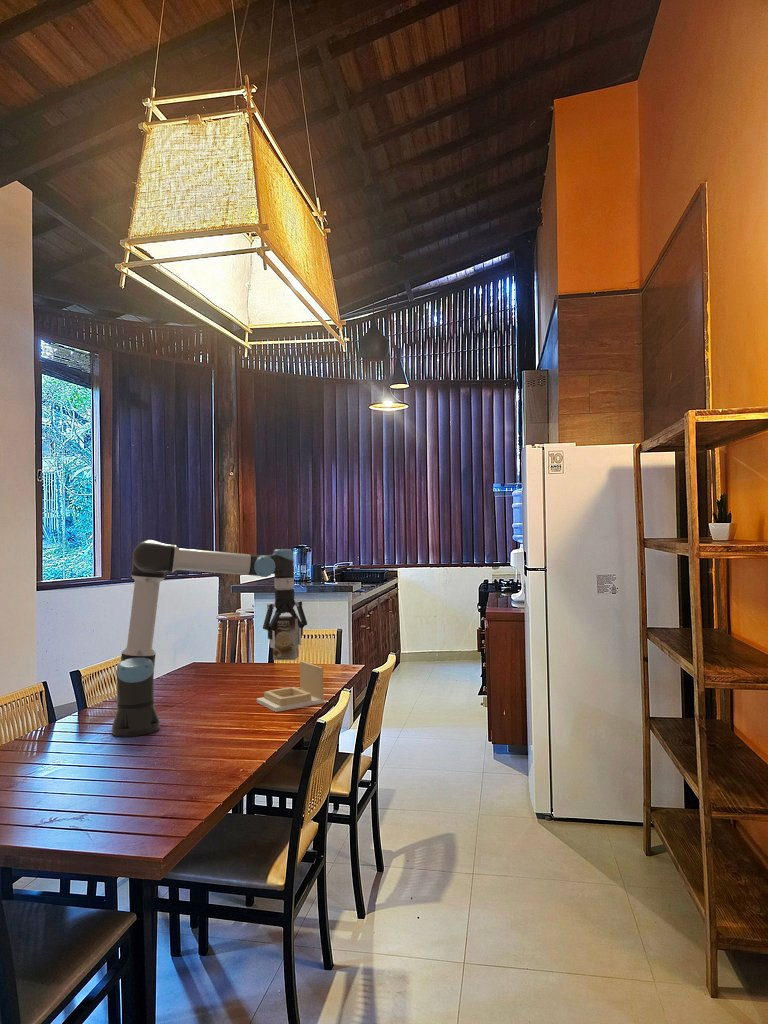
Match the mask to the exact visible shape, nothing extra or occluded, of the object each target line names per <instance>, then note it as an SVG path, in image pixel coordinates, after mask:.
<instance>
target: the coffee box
mask: <svg viewBox="0 0 768 1024" xmlns="http://www.w3.org/2000/svg"><path fill="white" fill-rule="evenodd" d="M298 618H299V616H298V617H293V616H291V615H290V616H289V615H288V616H283V615H282V616H281V615H280V616H279V618H278V620H277V622H276V624H275V626H274V628H273V631H275V648H272V661H296V660H297V659H299V657H300V654H299V652H300V651H299V650H300V649H299V646H300V645H299V640H298Z"/></svg>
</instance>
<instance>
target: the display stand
mask: <svg viewBox="0 0 768 1024" xmlns="http://www.w3.org/2000/svg"><path fill="white" fill-rule="evenodd" d="M299 684H300V685H299V688H298V687H296V686H290V687H289V686H288V687H283V688H278V689H271V690H266V691H264V692H263V697H257V698H256V703H257V704H259V705H261V706H263V707H265V708H267V709H268V710H271V711H272V712H274V711H275V712H276V713H277V712H284V711H288V710H293V709H300V708H304V707H310V706H311V707H312V706H315V705H320V704H325V703H324V702H325V698H324V696H325V695H324V692H325V691H324V667H322V666H319V665H316V664H313V663H310V662H307V661H305V660H304V661H303V660H300V661H299Z"/></svg>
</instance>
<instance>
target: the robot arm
mask: <svg viewBox="0 0 768 1024" xmlns="http://www.w3.org/2000/svg"><path fill="white" fill-rule="evenodd" d="M294 561H295V560H294V552H293V549H290V548H284V549H283V548H281V549H274V550H273V553H272V554H247V553H236V552H225V551H214V550H202V549H191V548H190V549H189V548H181V547H180V548H179V547H178V546H177V545H176V544H169V543H163V542H160V541H158V540H156V539H155V540H154V539H147V540H143V541H140V542H139V544H137V545H136V547H135V548H134V550H133V552H132V564H131V574H130V576H131V578H132V579H133V580H134V585H133V591H132V592H133V593H132V594H133V595H132V602H131V610H130V619H129V627H128V635H127V644H126V647H125V649H124V650H122V651H121V654H120V662H119V663H118V664H117V665H116V666H117V667H116V672H115V673H116V697H117V698H116V699H117V700H116V701H117V703H116V704H117V705H116V706H117V709H116V712H115V716H114V720H113V722H112V727H111V734H112V736H115V737H120V738H121V737H124V738H126V737H127V738H128V737H131V738H132V737H138V736H139V737H140V736H145V735H147V734H152V733H155V732H156V731H159V729H160V728H161V727H160V726H161V724H160V722H161V721H160V719H159V715H158V713H157V709H156V707H155V696H154V694H155V693H154V692H155V690H154V689H155V687H154V683H155V681H154V675H155V663H156V654H157V652H156V651H155V650H154V649H153V643H154V636H155V626H156V618H157V617H156V616H157V608H158V599H159V592H160V584H161V582H162V581H163V580H165V578H166V573H174V572H175V571H189V572H204V573H216V574H226V575H227V574H229V575H242V576H243V575H244V576H252V577H254V576H255V577H261V578H267V577H270V576H271V575H274V589H275V590H274V603H267V608H266V609H267V610H266V614H265V619H264V621H263V626H262V629H263V630H265V631H267V639H268V640H269V643H270V646H269V648H271V649H273V648H275V631H273V628H274V626H275V624H276V622H277V620H278V618H279V616H281V615H282V614H285V613H287V614H290V616H293V617H298V640H299V646H300V645H302V636H303V635H304V628H305V626H308V621H307V619H306V618H307V617H306V615H305V612H304V610H303V602H302V601H300V600H297V601H295V589H294V588H295V575H294V574H295V572H294V571H295V569H294V563H295V562H294ZM294 607H296V609H297V613H298V614H297V613H296V610H295V608H294ZM274 608H275V609H276V610H275V611H274ZM273 612H274V615H273ZM272 616H273V617H272Z"/></svg>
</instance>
